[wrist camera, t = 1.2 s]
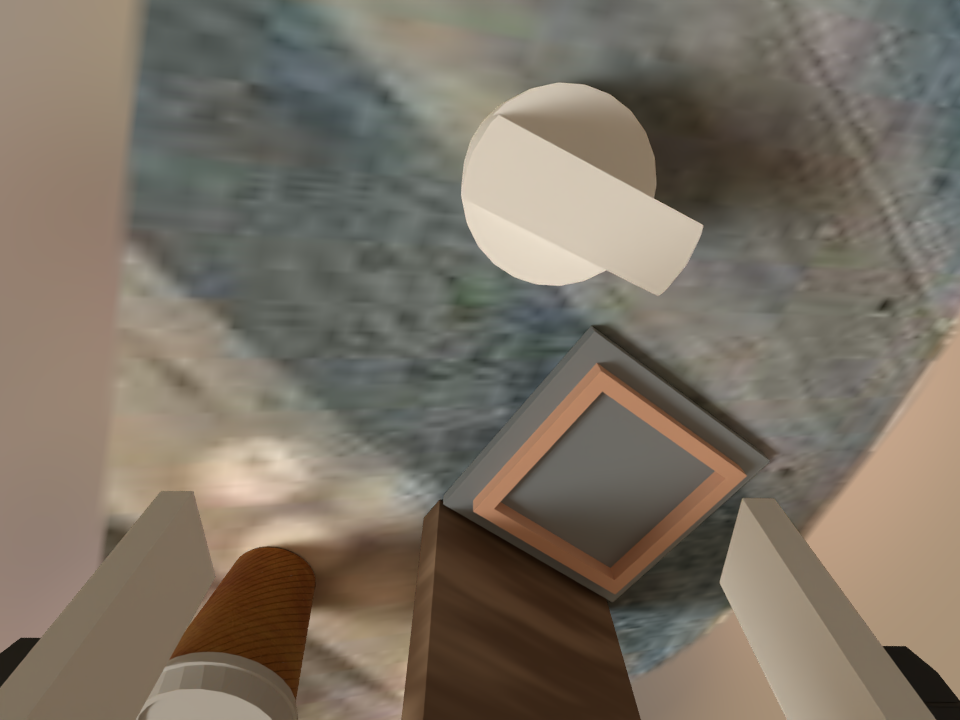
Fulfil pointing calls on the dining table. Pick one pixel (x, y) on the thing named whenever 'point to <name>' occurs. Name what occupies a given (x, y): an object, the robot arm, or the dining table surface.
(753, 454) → the square coaster tray
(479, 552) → the brown wooden panel
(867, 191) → the dining table surface
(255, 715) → the disposable coffee cup
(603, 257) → the cylinder with rectangular tab
